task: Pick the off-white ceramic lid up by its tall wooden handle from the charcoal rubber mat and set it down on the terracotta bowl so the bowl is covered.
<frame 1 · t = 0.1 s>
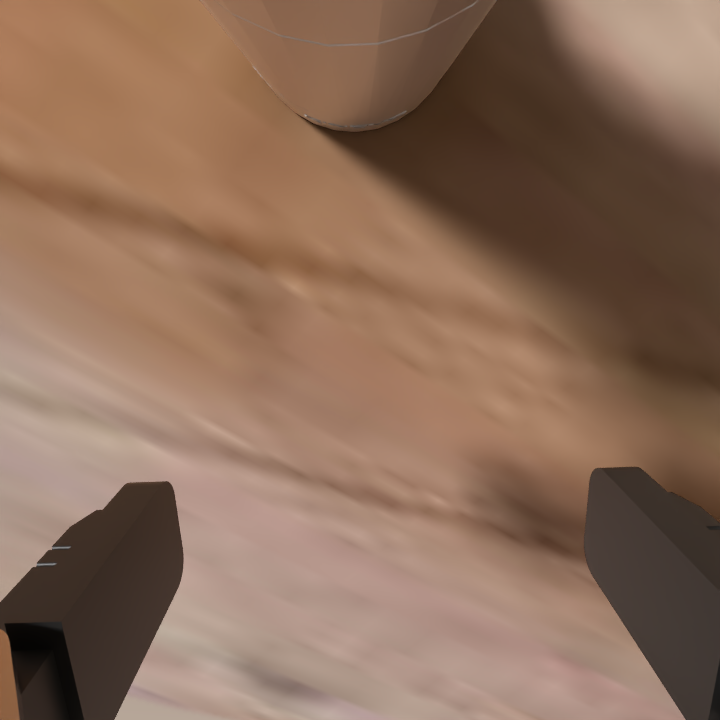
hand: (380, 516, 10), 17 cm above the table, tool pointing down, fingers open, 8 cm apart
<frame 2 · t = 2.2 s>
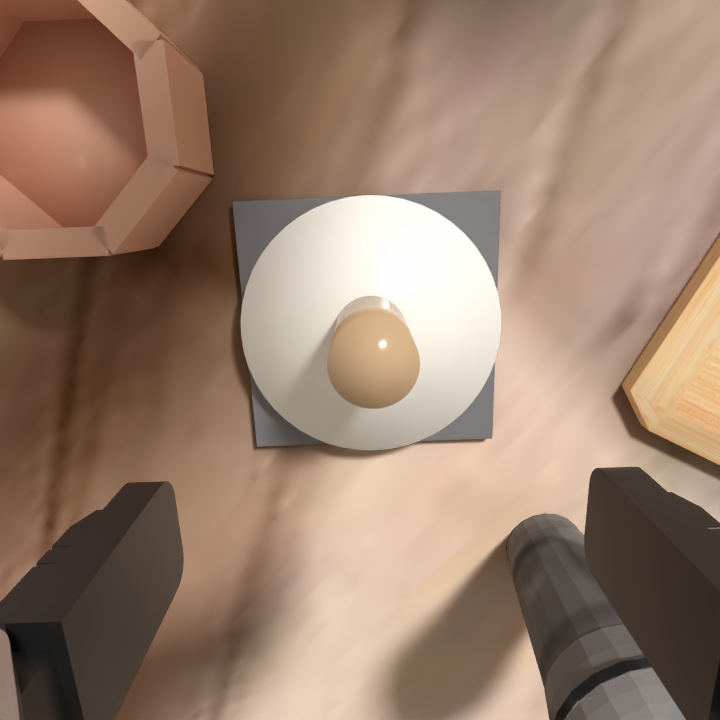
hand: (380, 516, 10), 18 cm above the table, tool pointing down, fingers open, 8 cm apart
mat: (370, 325, 27), on the table
lid: (370, 327, 27), point 1 cm above the table, touching mat
beverage cup: (542, 544, 31), on the table
bowl: (92, 130, 25), on the table
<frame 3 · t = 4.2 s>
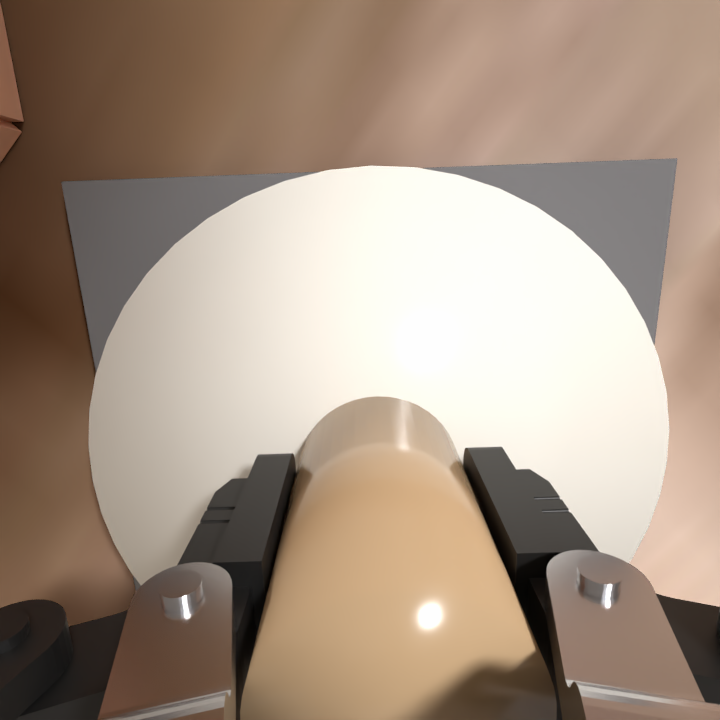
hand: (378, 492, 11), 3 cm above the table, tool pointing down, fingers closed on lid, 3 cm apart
mat: (375, 441, 13), on the table
lid: (377, 451, 13), point 1 cm above the table, touching gripper, mat
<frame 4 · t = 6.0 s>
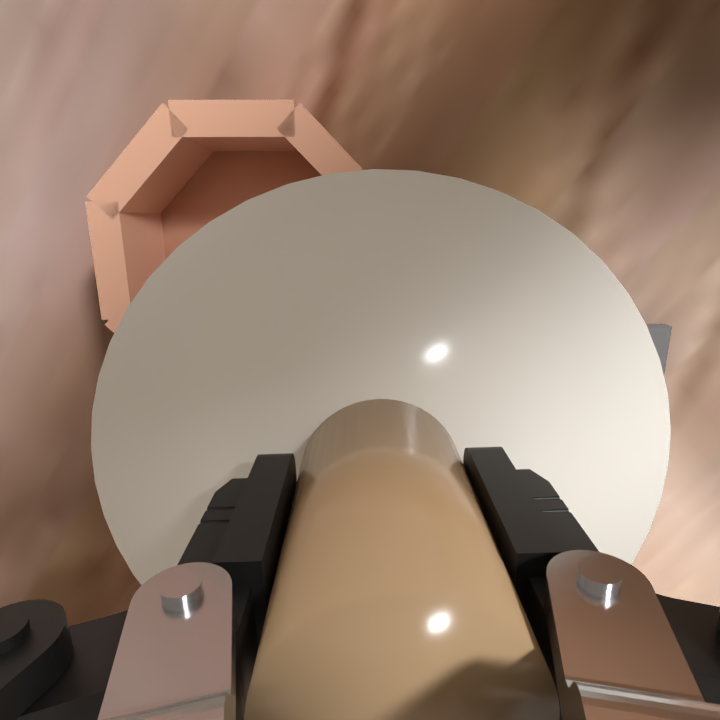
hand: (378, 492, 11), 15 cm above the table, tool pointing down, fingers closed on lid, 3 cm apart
mat: (521, 446, 27), on the table
lid: (378, 454, 13), point 13 cm above the table, touching gripper
bowl: (264, 252, 24), on the table
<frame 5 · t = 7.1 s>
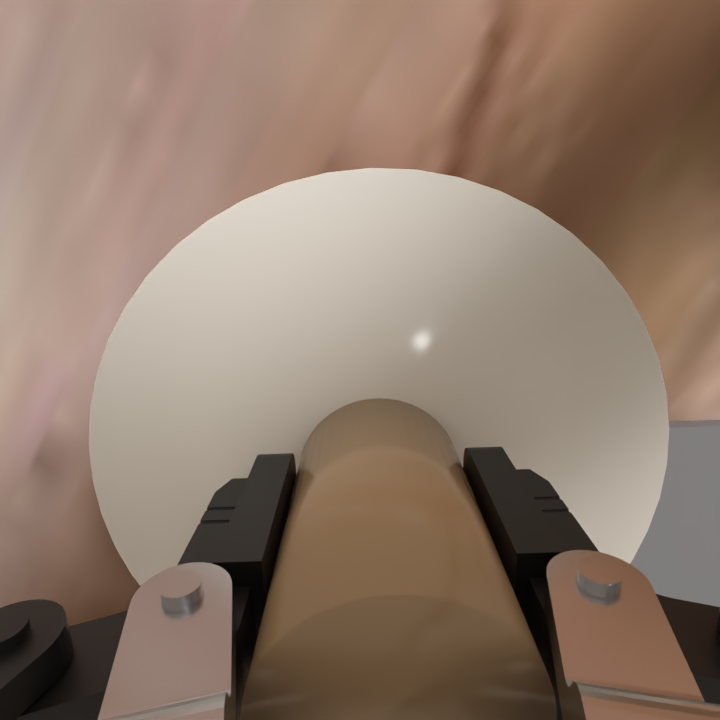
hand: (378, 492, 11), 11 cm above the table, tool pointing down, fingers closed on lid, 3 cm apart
mat: (654, 549, 24), on the table
lid: (377, 453, 13), point 9 cm above the table, touching gripper
when the fingers open (8 cm above the table, at t = 7.9 s): lid drops 1 cm, resting on bowl.
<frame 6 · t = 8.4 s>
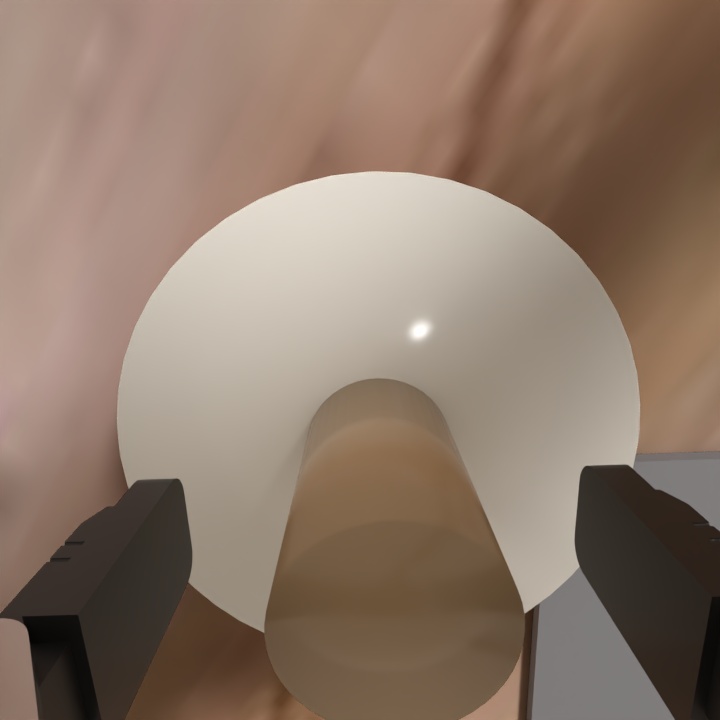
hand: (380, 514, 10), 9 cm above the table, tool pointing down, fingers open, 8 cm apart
mat: (691, 595, 21), on the table
lid: (377, 430, 14), point 5 cm above the table, touching bowl
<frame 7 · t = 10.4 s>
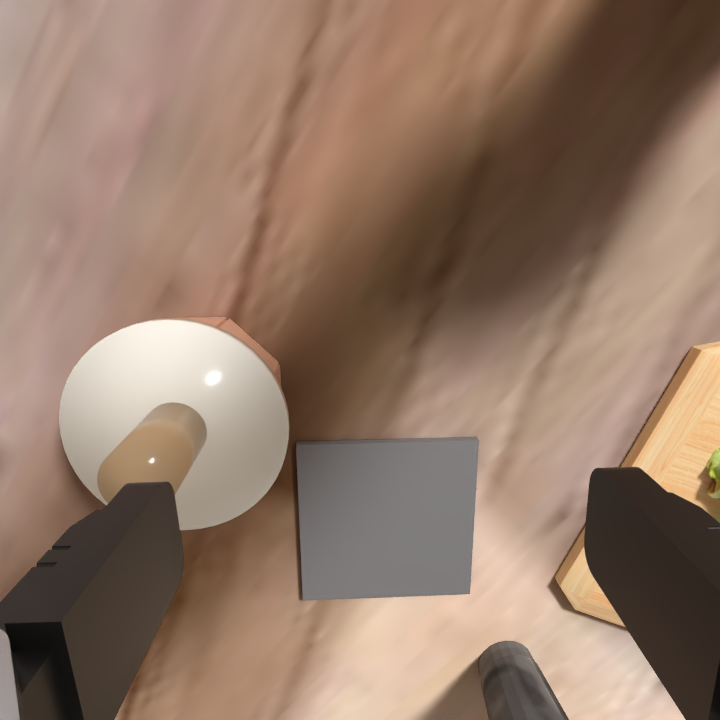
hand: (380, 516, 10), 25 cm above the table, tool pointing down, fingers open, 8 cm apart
mat: (386, 518, 39), on the table
lid: (180, 425, 31), point 5 cm above the table, touching bowl
beverage cup: (504, 661, 43), on the table
bowl: (200, 397, 36), on the table
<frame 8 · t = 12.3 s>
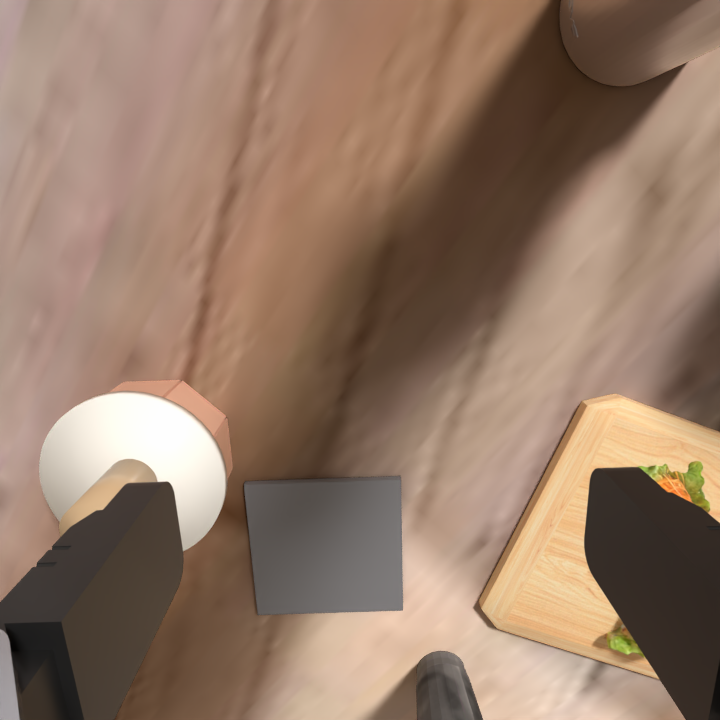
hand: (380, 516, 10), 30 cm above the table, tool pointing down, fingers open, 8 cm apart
cutting board: (699, 560, 46), on the table
mat: (326, 545, 45), on the table
lid: (138, 475, 37), point 5 cm above the table, touching bowl
beverage cup: (440, 668, 49), on the table
bowl: (162, 445, 42), on the table
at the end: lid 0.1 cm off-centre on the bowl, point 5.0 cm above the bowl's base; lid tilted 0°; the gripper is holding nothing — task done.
